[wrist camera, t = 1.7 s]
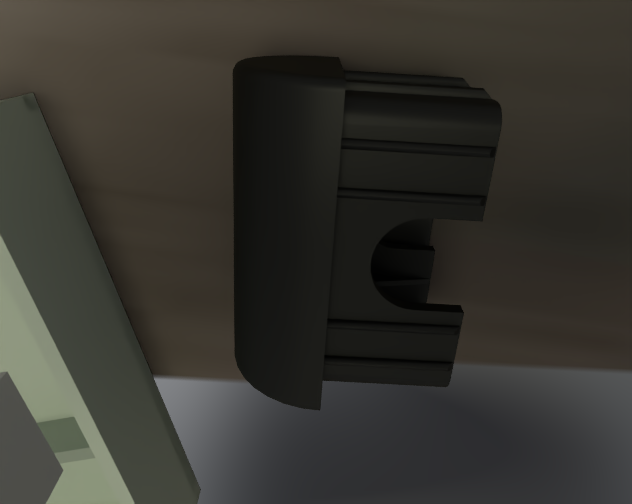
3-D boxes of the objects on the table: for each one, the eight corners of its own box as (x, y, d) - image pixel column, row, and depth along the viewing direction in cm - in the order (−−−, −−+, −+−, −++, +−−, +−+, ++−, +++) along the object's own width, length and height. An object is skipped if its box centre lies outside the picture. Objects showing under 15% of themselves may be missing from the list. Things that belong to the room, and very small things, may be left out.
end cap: (249, 49, 18) (213, 70, 12) (453, 62, 19) (518, 89, 12) (248, 300, 23) (221, 409, 17) (414, 309, 23) (448, 421, 17)
